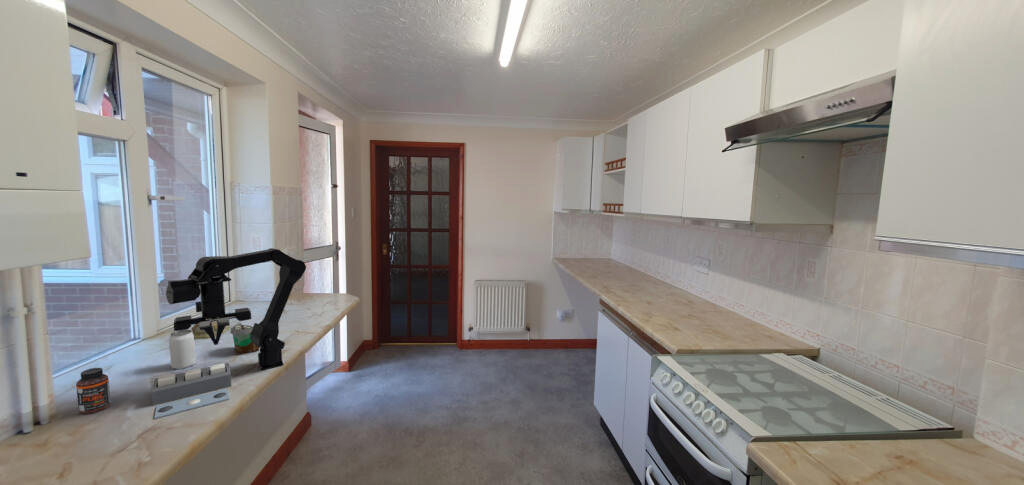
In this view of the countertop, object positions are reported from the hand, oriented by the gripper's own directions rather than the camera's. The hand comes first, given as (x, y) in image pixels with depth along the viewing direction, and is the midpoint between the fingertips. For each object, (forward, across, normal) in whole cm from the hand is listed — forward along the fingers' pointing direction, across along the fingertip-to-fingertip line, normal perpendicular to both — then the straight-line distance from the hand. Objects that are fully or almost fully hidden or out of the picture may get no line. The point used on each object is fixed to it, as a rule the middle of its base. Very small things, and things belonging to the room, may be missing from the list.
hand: (216, 344), depth 117 cm
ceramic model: (+13, +1, -54) cm, 56 cm away
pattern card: (+13, +6, +10) cm, 18 cm away
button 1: (+9, +12, 0) cm, 15 cm away
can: (+13, +9, -22) cm, 27 cm away
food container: (+13, -8, -24) cm, 29 cm away
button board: (+13, +6, 0) cm, 14 cm away
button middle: (+9, +6, 0) cm, 11 cm away
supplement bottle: (+13, +27, -2) cm, 30 cm away
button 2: (+9, 0, 0) cm, 9 cm away
